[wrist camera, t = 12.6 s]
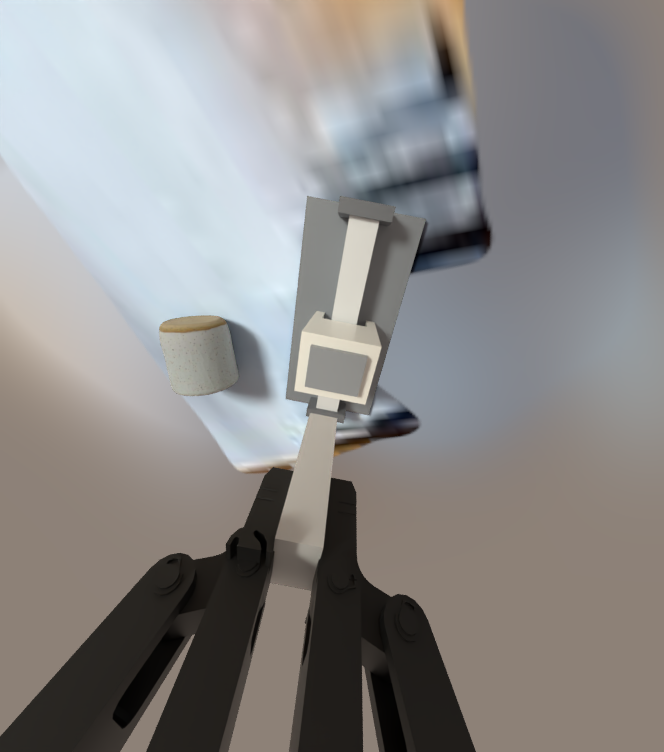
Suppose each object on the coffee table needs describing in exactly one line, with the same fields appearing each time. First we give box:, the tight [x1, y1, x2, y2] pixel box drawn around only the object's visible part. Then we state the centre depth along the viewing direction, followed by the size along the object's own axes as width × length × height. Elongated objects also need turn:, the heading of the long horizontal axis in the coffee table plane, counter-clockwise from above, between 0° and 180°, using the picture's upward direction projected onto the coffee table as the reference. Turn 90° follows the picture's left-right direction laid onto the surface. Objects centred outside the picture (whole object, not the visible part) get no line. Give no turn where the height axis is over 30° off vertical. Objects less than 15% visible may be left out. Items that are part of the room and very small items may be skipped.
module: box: [294, 311, 381, 405], centre depth 26 cm, size 6×7×10 cm
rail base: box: [286, 196, 426, 423], centre depth 29 cm, size 24×12×4 cm, turn 170°
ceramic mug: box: [159, 316, 239, 396], centre depth 30 cm, size 11×8×8 cm
